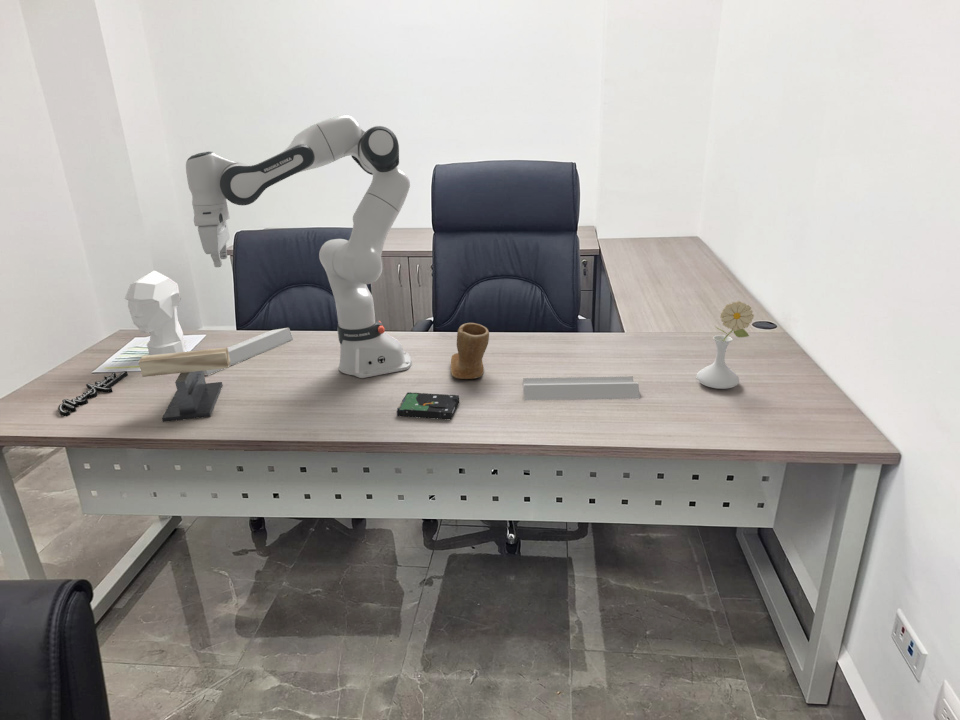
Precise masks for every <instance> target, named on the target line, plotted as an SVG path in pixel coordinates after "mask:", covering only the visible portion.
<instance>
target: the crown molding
mask: <svg viewBox="0 0 960 720" xmlns="http://www.w3.org/2000/svg"><path fill="white" fill-rule="evenodd" d="M522 384H523V395H524V396H523V397H524V401H560V400H561V401H563V400H564V401H565V400H566V401H567V400H571V401H572V400H573V401H574V400H623V399H625V400H627V399H628V400H629V399H631V400H632V399H633V400H635V399H636V400H638V399H641V395H640V387H639V382H637V381H636V382H635V381H634V376H580V377H572V376H571V377H570V376H569V377H529V378H528V377H525V378H522Z"/></svg>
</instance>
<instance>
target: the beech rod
mask: <svg viewBox="0 0 960 720" xmlns="http://www.w3.org/2000/svg"><path fill="white" fill-rule="evenodd" d="M230 363H231V362H230V357H229V352H228V347H220V348H219V347H218V348H210V349H208V348H207V349H200V350H191V351H186V352H178V353H168V354H158V355H150V354H148V355H141V358H140V359H139V360H138V365H139V369H140V373H141V376H142V378H145V377H146V378H147V377H154V376H155V377H156V376H165V375H173V374H174V375H175V374H180V373H185V372H195V371H204V370H214V369H223V368H226V369H229V365H230ZM223 370H224V369H223Z"/></svg>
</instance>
